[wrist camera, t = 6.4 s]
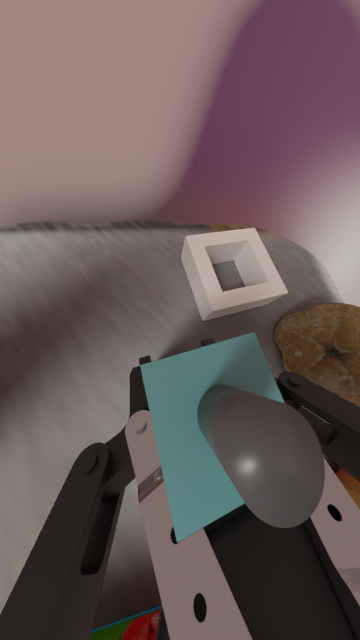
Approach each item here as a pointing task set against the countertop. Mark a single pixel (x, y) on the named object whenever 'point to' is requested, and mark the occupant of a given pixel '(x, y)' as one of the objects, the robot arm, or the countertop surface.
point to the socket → (249, 261)
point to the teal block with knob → (230, 438)
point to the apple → (350, 485)
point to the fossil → (324, 347)
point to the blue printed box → (130, 627)
